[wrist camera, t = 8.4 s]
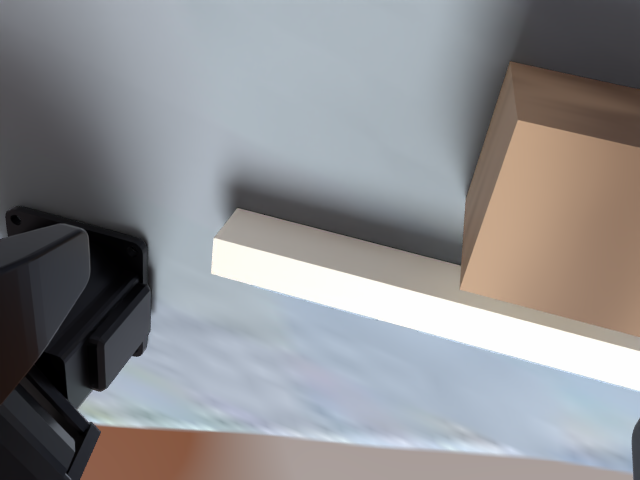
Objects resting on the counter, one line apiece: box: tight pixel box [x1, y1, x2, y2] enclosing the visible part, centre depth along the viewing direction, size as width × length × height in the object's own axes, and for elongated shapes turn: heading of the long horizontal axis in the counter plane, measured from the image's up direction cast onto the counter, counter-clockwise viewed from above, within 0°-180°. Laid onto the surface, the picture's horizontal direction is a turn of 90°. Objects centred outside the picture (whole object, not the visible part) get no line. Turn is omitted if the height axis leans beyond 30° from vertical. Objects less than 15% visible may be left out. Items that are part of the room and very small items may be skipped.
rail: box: [211, 208, 640, 392], centre depth 22 cm, size 24×2×2 cm, turn 81°
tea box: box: [459, 61, 640, 337], centre depth 18 cm, size 7×5×6 cm
